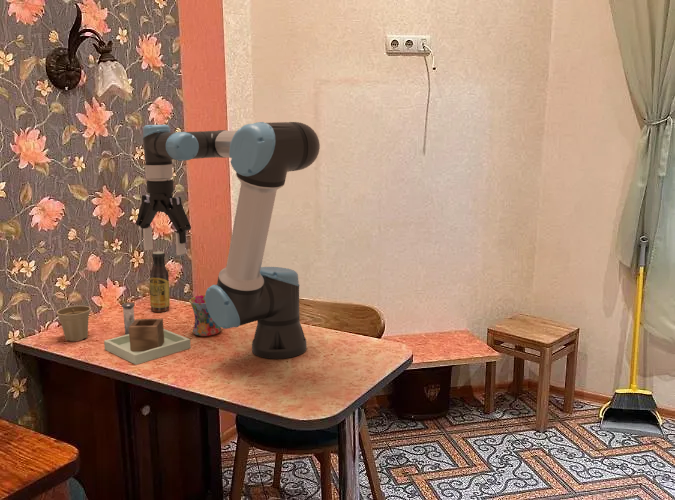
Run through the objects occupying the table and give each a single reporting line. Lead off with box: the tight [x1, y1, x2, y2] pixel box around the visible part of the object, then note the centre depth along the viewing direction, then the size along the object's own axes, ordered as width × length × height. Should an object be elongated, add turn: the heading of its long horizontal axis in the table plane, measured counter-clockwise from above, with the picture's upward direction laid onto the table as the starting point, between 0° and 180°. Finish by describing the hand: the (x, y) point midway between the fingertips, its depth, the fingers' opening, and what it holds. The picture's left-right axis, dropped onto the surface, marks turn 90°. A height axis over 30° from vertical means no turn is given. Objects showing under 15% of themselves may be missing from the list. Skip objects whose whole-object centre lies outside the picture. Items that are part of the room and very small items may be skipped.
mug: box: [188, 294, 222, 337], centre depth 199 cm, size 12×9×11 cm
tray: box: [103, 328, 192, 366], centre depth 186 cm, size 17×17×3 cm
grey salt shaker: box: [121, 301, 136, 335], centre depth 199 cm, size 4×4×9 cm
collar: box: [129, 318, 165, 352], centre depth 185 cm, size 8×8×7 cm
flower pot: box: [56, 305, 92, 342], centre depth 195 cm, size 9×9×9 cm
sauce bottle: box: [149, 250, 171, 313], centre depth 221 cm, size 6×6×20 cm
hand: (164, 252), depth 194 cm, fingers open, 13 cm apart
